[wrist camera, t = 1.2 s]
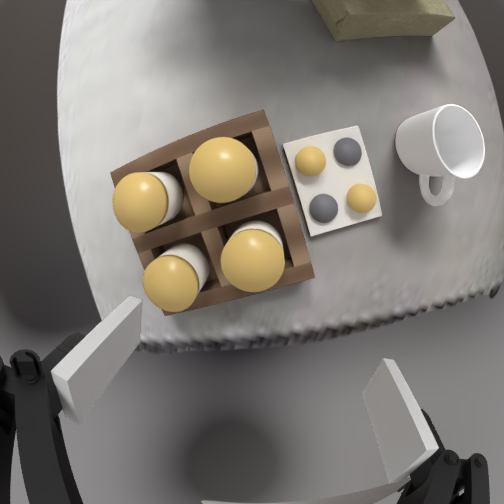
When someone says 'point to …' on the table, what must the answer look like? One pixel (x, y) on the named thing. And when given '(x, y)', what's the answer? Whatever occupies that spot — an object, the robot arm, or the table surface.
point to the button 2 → (176, 277)
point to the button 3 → (223, 170)
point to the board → (224, 208)
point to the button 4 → (253, 257)
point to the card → (333, 179)
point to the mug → (441, 148)
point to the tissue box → (383, 17)
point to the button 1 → (147, 200)
